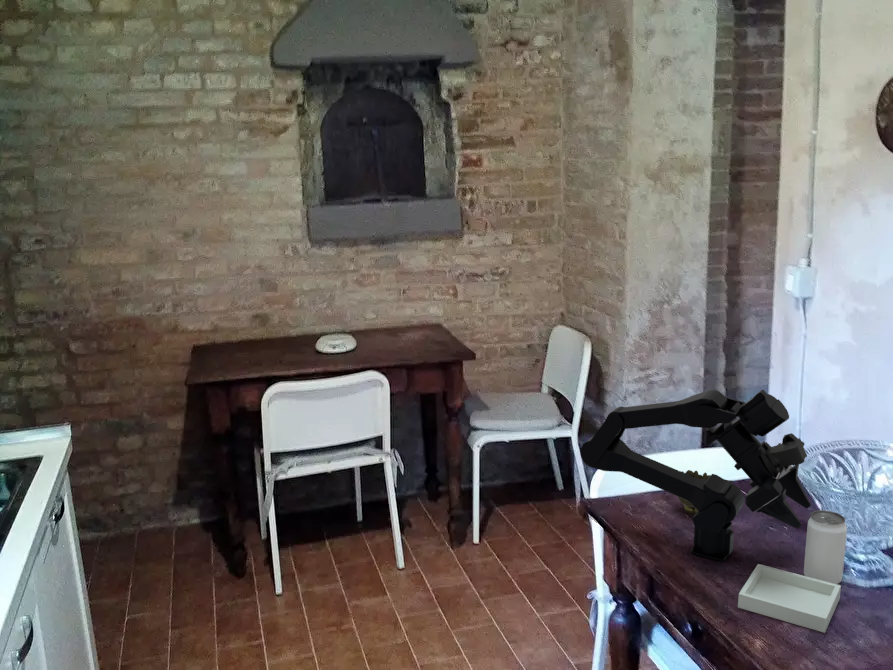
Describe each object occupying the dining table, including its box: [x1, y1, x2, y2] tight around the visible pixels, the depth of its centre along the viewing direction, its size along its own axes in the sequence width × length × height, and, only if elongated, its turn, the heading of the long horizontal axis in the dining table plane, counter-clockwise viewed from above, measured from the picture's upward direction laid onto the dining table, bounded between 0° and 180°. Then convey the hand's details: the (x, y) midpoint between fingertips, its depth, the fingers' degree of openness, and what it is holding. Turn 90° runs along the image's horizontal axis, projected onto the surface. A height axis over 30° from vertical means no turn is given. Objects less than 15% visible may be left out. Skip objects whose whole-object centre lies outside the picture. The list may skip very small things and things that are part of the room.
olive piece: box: [677, 469, 712, 515], centre depth 180 cm, size 8×7×8 cm
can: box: [803, 509, 848, 585], centre depth 152 cm, size 6×6×12 cm
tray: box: [737, 563, 842, 634], centre depth 145 cm, size 14×12×3 cm
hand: (804, 516), depth 153 cm, fingers open, 9 cm apart
